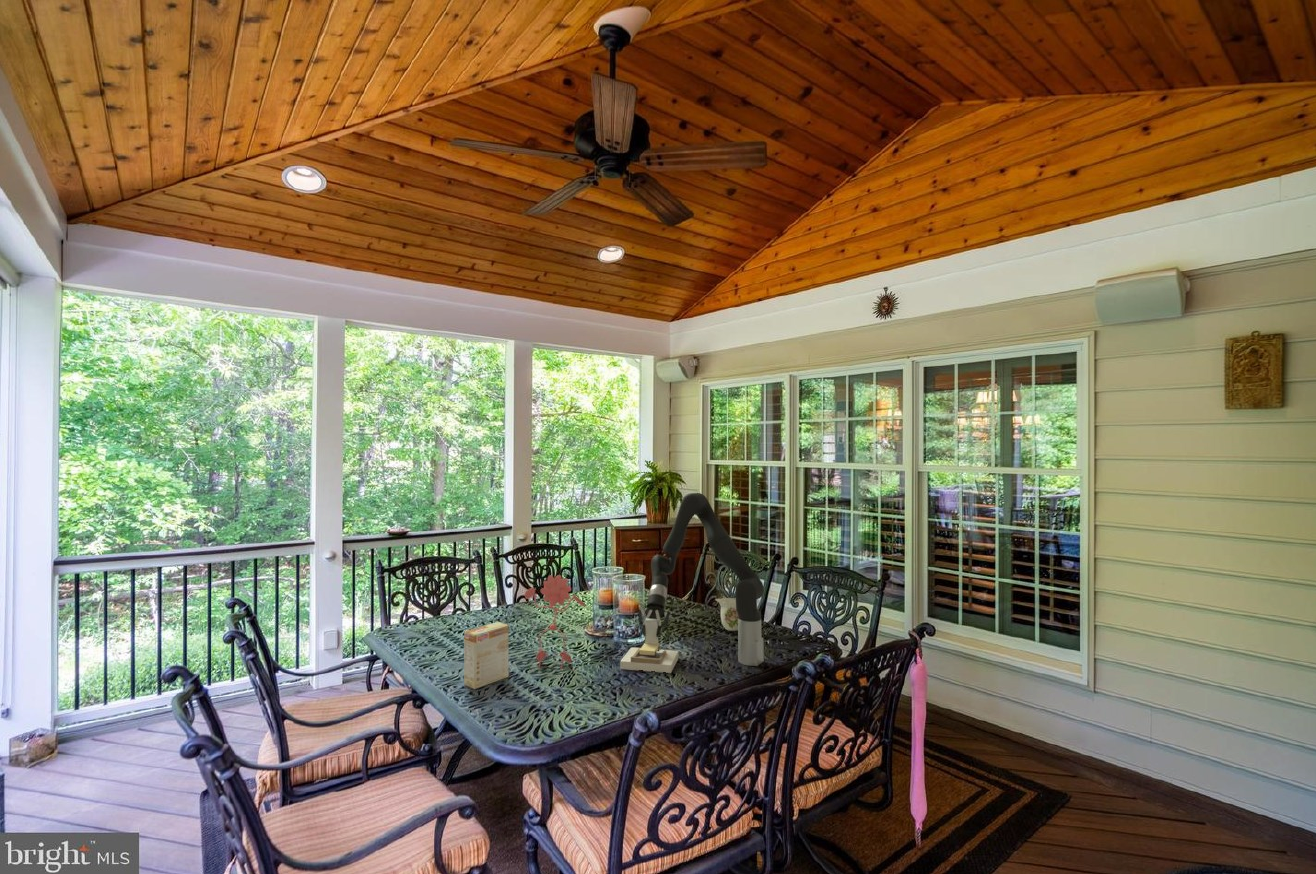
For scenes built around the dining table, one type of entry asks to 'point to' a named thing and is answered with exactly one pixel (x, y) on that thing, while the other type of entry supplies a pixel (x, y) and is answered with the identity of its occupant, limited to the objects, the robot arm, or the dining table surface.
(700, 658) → the dining table surface
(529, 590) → the red stick figure
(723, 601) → the pitcher
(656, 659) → the dock
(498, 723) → the dining table surface
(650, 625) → the beige l-shaped block
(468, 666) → the coffeecake box
